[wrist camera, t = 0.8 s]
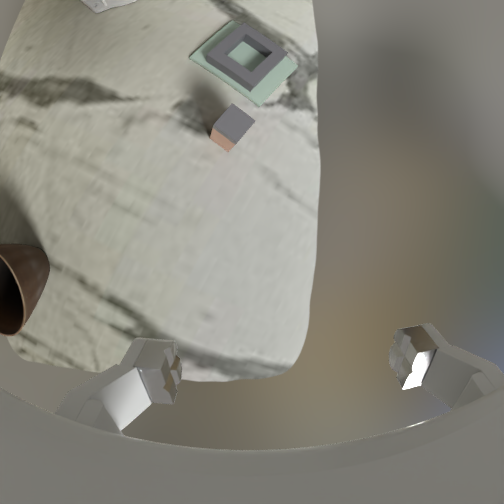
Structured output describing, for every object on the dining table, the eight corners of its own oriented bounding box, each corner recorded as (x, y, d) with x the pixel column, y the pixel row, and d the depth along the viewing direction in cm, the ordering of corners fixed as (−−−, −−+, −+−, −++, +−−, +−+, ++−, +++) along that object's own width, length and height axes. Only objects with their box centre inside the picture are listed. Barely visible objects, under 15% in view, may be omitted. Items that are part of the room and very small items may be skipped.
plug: (209, 138, 43) (213, 124, 32) (224, 121, 43) (232, 103, 32) (228, 152, 44) (237, 142, 34) (242, 134, 44) (255, 120, 33)
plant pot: (78, 269, 43) (38, 303, 28) (44, 312, 44) (8, 351, 28) (34, 212, 39) (-16, 226, 24) (4, 261, 39) (-40, 286, 24)
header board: (189, 59, 38) (189, 50, 35) (231, 22, 37) (234, 12, 34) (259, 107, 43) (264, 101, 39) (296, 67, 42) (304, 60, 38)
